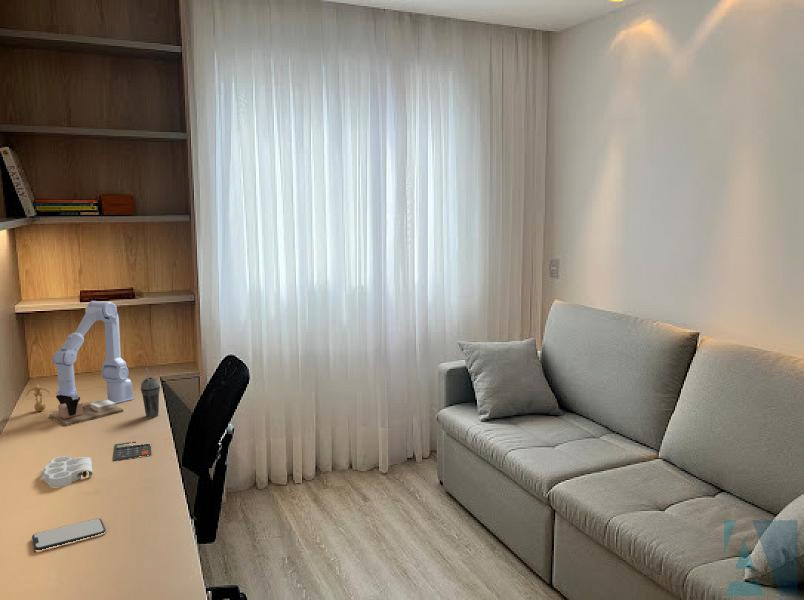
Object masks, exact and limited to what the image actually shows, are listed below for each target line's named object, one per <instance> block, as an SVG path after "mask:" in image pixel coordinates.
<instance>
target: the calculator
mask: <svg viewBox="0 0 804 600" xmlns="http://www.w3.org/2000/svg"><path fill="white" fill-rule="evenodd" d="M131 442H132V443H136V441H129V442H124V443H123V442H122V443H116V444H114V449H113V457H112V458H113V459H112V461H113V462H115V461H116V462H118V461H125V460H130V459H129V458H132V459H136V458H135V457H139V456H146V457H148V456H147V455H151V456H152V445H151V446H150V444H144V445H143V444H141V445H133V446H130V445H124V444H129V443H131ZM139 458H140V457H139ZM124 459H125V460H124ZM117 460H118V461H117Z"/></svg>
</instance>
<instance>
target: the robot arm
mask: <svg viewBox="0 0 804 600" xmlns="http://www.w3.org/2000/svg"><path fill="white" fill-rule="evenodd" d="M84 310H85V314H84V315H83V317H82V319H81V321H80V323H79V324H78V327H77V328H76V330H75V331H74V332H72V333H70V334H69V335H67V337H66V340H65V341H64V343H63V344H62V345H61V347H60V349H58V350H56V351H55V352H54V354H53V357H52V358H51V359H52V363H54V365H55V368H56V371H57V372H56V373H57V382H58V387H57V388H56V389H57V392H56V393H55V395H56V396H55V398H56V399H57V401H58V402H59V405H60V404H64V403H65V404H66V406H67V409H68V413H69V416H72V415H75V414H76V409H77V405H78V402H80V400H81V397H80V396H79V394H78V393H77V389H76V380H75V379H76V378H75V369H74V363H75V362H76V361H77V358H78V357H77V355H78V352H79V350H80V349H81V347H82V346H83V344H84V342H85V338H84V336H85V335H86V334H87V333H88V331H89V330H90V329H91V327H92V326H93V325H94V323H95V322H97V321H102V322H103V323H104V334H105V349H106V350H105V352H106V354H105V355H106V359H105V360H104V361H103V362H102V368H101V371H100V372H101V373H100V374H101V377H102V378H103V379H104V381H105V383H106V393H107V398H106V399H108V400H110V401H112V402H115V403H116V404H119V403H123V402H128V401H132V400H134V395H133V383H132V380H131V379H130V378H128V376H129V368H128V366H127V362H126V361H125V360H124V359H123V358H122V353H121V337H120V335H121V334H120V318H119V313H118V307H117V305H116V304H115V303H114V302H112V301H98V300H97V301H96V300H91V301H90V302H89V303H87V306H86V307H85V309H84ZM106 399H105V398H104V400H106Z"/></svg>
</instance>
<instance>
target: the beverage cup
mask: <svg viewBox="0 0 804 600" xmlns="http://www.w3.org/2000/svg"><path fill="white" fill-rule="evenodd" d="M145 370H146V378H145V379H144V380H142V382H141V384H140V392H141V394H142V399H143V406H144V412H145V417H146V418H148V417H153V418H156V417H155V416H157V417H159V412H160V411H159V409H160V389H161V386H160V385H161V384H160V382H159V380H158V379H156V378H155V377H150V375H149V371H148V367H145Z"/></svg>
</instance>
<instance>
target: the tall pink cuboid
mask: <svg viewBox="0 0 804 600" xmlns="http://www.w3.org/2000/svg"><path fill="white" fill-rule="evenodd" d="M82 407H83V403H82V402H80V401H79V402H78V405H77V409H76V414H75V415H72V416H69V413H68V409H67V406H66V404H65V403H64V404H60V403H59V404H57V408H58V413H59V416H60V417H62V418H64V419H65V418H69V417H73V416H77V415H81V414H83V409H82Z"/></svg>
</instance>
